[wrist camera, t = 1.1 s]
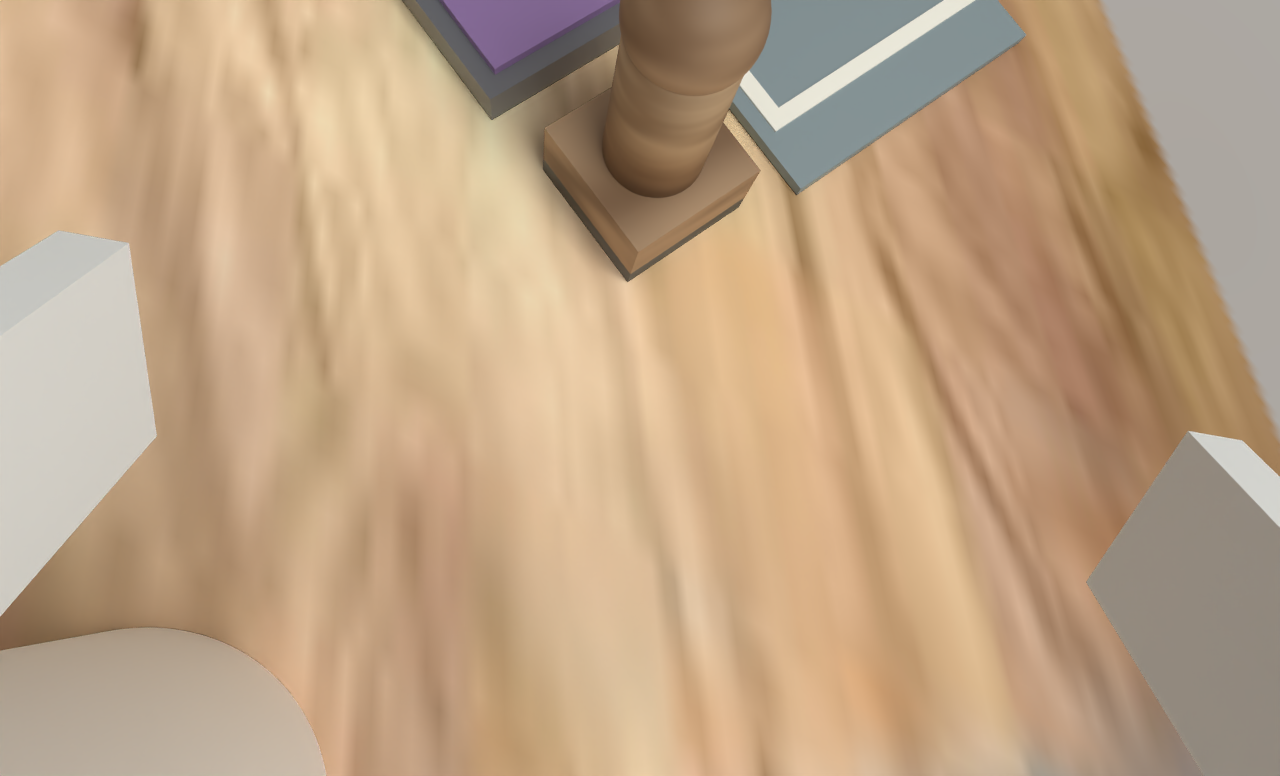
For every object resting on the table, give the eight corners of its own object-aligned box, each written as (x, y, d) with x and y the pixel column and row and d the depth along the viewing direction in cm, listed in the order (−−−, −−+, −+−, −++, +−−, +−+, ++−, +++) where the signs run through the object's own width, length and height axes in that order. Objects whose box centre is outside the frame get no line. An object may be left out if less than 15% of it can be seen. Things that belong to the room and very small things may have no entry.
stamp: (543, 169, 35) (551, -72, 21) (655, 99, 36) (729, -170, 23) (627, 282, 34) (690, 107, 21) (738, 207, 36) (864, -4, 22)
